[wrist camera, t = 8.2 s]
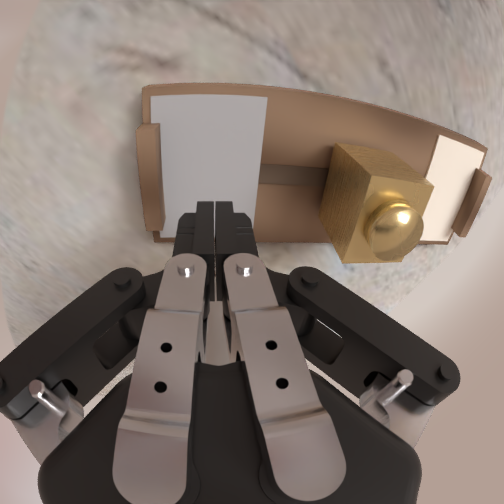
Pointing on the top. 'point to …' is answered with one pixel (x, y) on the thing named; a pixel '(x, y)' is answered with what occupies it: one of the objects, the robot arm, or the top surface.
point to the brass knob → (373, 205)
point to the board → (288, 158)
